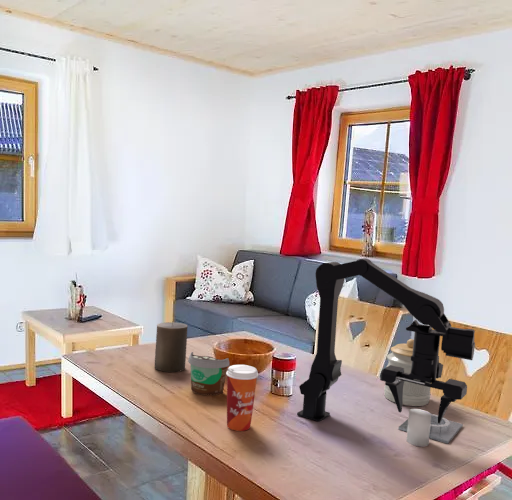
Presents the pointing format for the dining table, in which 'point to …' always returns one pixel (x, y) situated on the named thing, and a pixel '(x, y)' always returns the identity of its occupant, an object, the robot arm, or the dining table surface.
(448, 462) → the dining table surface
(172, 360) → the pillar candle
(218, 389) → the food container
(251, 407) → the paper cup
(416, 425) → the cylinder
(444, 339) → the robot arm
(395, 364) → the jar
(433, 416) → the plate
